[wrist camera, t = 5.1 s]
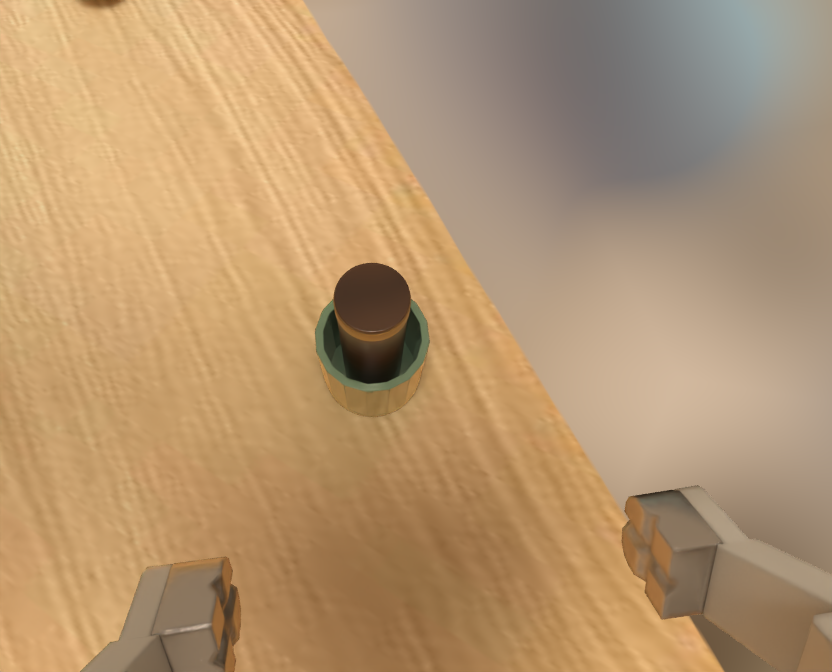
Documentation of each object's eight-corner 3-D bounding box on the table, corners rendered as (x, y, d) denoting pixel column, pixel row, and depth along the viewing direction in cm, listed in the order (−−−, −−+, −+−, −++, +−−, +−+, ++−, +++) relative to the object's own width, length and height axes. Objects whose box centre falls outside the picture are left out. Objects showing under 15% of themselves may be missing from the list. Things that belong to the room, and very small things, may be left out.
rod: (334, 356, 43) (319, 281, 31) (384, 332, 44) (388, 249, 32) (360, 405, 42) (355, 346, 30) (411, 379, 43) (425, 312, 31)
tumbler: (308, 351, 44) (296, 313, 37) (392, 310, 46) (395, 267, 39) (351, 434, 42) (347, 411, 35) (437, 389, 44) (449, 358, 37)
